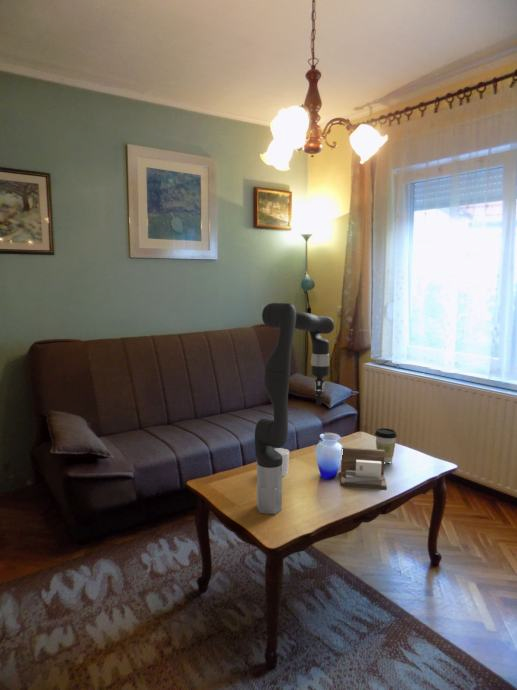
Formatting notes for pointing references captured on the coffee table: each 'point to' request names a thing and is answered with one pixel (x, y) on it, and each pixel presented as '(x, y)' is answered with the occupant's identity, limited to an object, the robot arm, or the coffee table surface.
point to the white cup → (284, 460)
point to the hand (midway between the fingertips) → (319, 402)
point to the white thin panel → (368, 468)
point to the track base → (350, 468)
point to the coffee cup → (386, 442)
